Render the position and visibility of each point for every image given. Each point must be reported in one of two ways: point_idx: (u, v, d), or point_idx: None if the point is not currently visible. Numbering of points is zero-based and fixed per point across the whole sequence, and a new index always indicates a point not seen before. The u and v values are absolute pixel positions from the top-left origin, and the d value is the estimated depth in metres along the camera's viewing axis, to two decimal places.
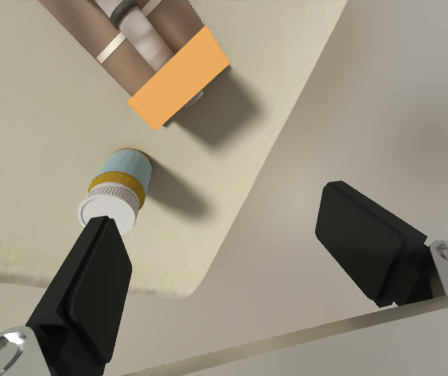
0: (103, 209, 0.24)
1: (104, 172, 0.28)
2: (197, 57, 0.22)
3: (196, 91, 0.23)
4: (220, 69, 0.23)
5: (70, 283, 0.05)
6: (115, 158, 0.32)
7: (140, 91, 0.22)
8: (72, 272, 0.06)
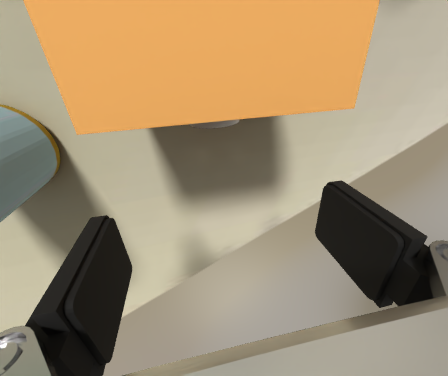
0: None
1: None
2: (307, 40, 0.07)
3: (248, 115, 0.08)
4: (328, 106, 0.09)
5: (69, 283, 0.05)
6: None
7: None
8: (72, 272, 0.06)
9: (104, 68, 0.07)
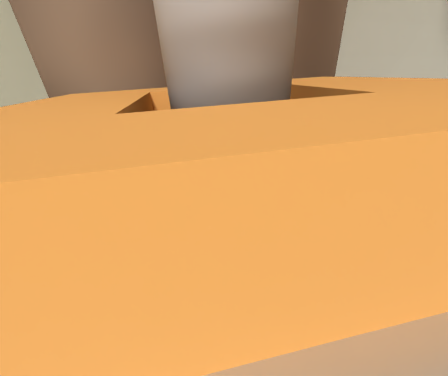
0: None
1: None
2: None
3: None
4: None
5: None
6: None
7: None
8: None
9: None
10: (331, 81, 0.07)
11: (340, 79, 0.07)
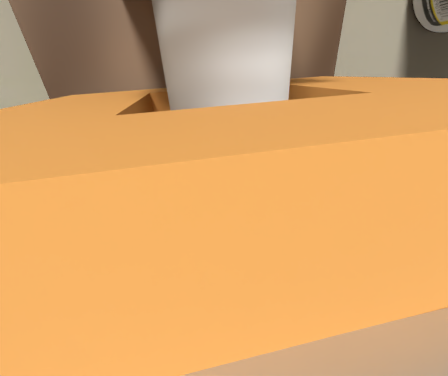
0: None
1: None
2: None
3: None
4: None
5: None
6: None
7: None
8: None
9: None
10: (329, 81, 0.07)
11: (338, 79, 0.07)
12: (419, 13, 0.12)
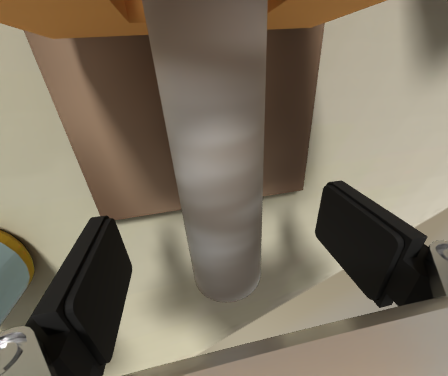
0: None
1: None
2: None
3: None
4: None
5: (70, 283, 0.05)
6: None
7: None
8: (72, 272, 0.06)
9: None
10: None
11: None
12: None
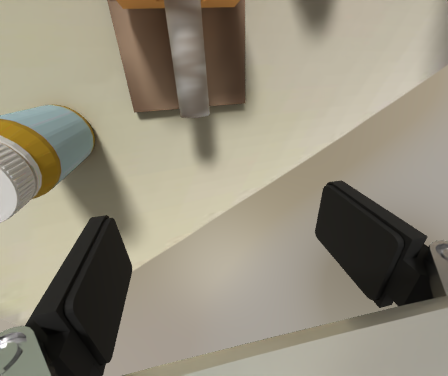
0: None
1: (11, 120, 0.17)
2: None
3: None
4: None
5: (70, 283, 0.05)
6: (46, 112, 0.21)
7: None
8: (72, 272, 0.06)
9: None
10: None
11: None
12: None
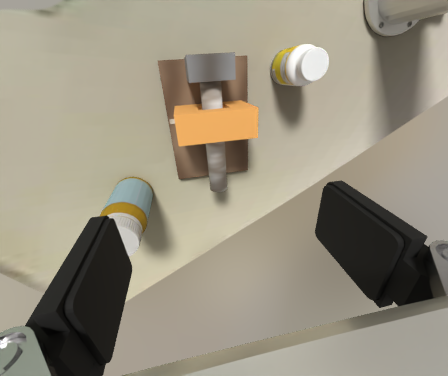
0: None
1: (127, 202, 0.33)
2: (240, 121, 0.28)
3: (225, 140, 0.29)
4: (249, 137, 0.30)
5: (70, 283, 0.05)
6: (134, 188, 0.37)
7: (188, 115, 0.27)
8: (72, 272, 0.06)
9: (188, 130, 0.28)
10: (234, 103, 0.33)
11: (238, 102, 0.33)
12: (274, 79, 0.37)
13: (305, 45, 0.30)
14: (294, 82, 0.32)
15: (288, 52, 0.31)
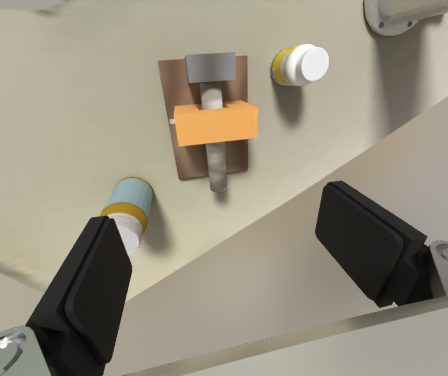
0: None
1: (127, 202, 0.33)
2: (240, 121, 0.28)
3: (225, 140, 0.29)
4: (249, 137, 0.30)
5: (69, 283, 0.05)
6: (134, 188, 0.37)
7: (189, 115, 0.27)
8: (72, 272, 0.06)
9: (188, 130, 0.28)
10: (234, 103, 0.33)
11: (238, 102, 0.33)
12: (274, 79, 0.37)
13: (305, 45, 0.30)
14: (294, 82, 0.32)
15: (288, 52, 0.31)
